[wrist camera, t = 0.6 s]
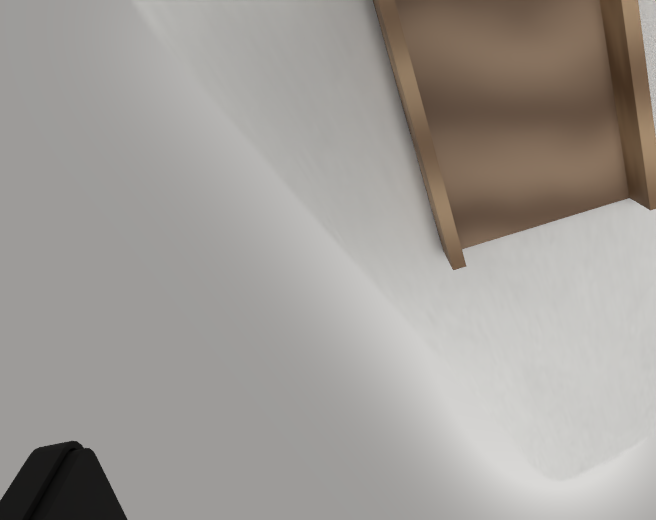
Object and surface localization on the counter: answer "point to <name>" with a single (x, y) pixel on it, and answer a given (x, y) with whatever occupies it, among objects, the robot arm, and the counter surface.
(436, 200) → the tray
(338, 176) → the counter surface
